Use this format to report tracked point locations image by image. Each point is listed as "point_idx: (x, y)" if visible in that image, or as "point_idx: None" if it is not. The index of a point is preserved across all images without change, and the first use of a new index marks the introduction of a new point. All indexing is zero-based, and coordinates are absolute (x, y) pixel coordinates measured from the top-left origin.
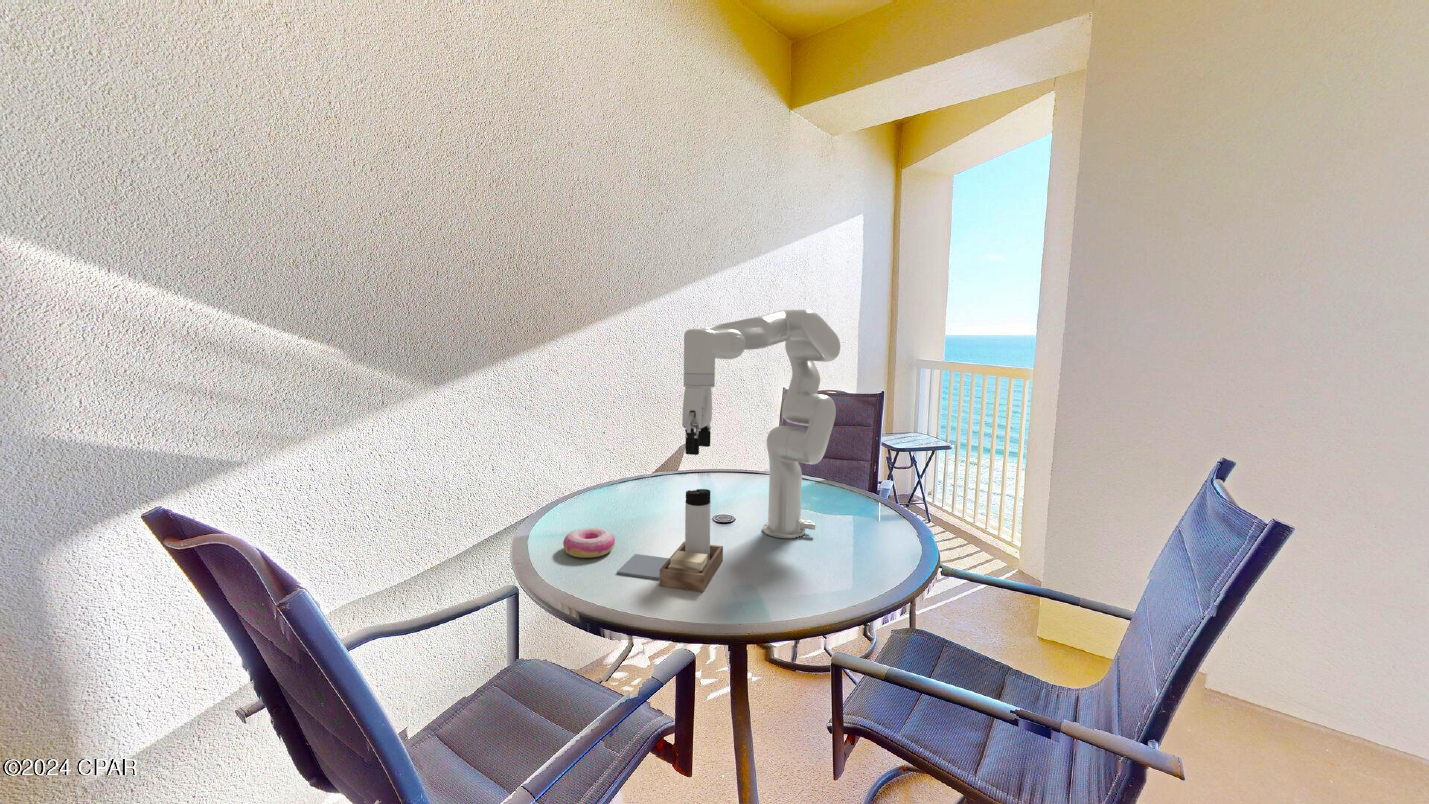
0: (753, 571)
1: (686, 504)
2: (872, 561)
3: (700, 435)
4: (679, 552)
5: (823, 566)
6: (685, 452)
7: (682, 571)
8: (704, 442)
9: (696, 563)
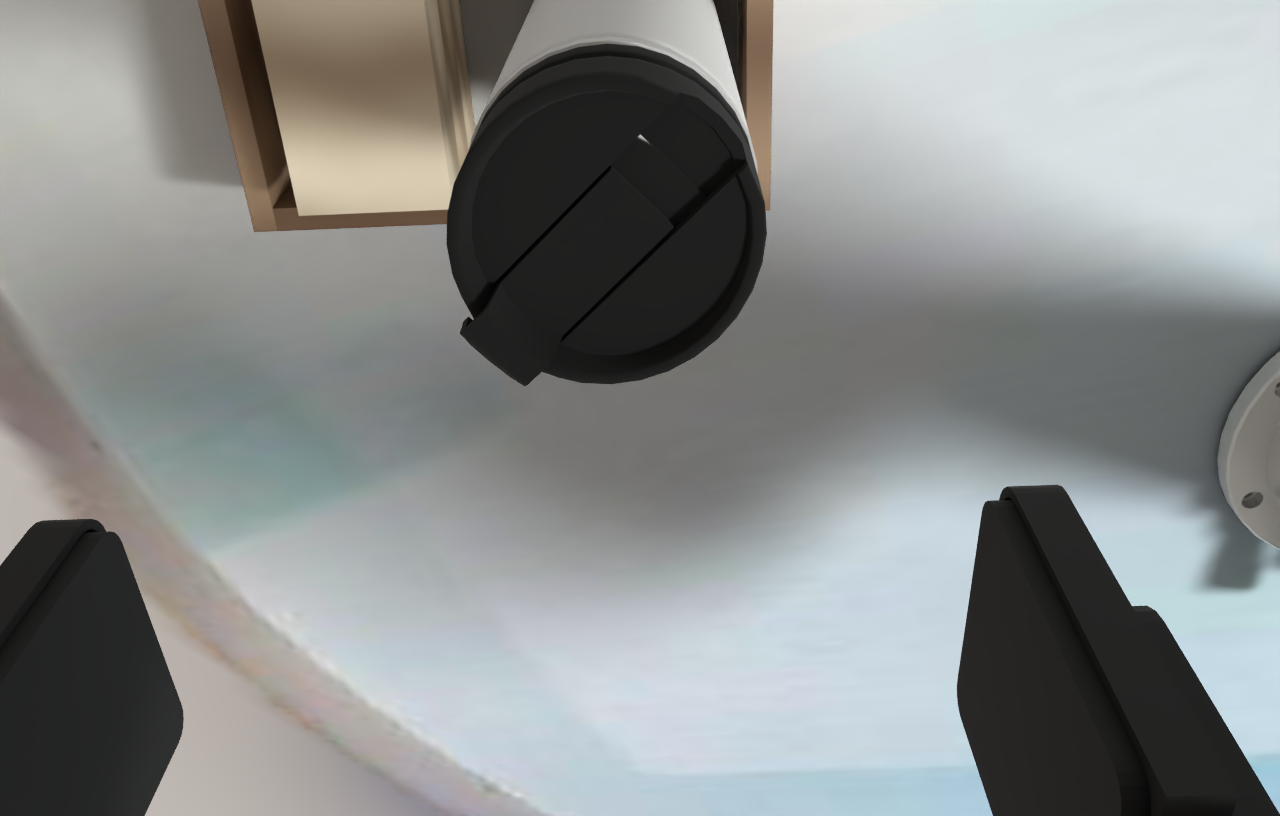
0: (668, 381)
1: (502, 83)
2: None
3: (1065, 741)
4: None
5: (844, 669)
6: (28, 530)
7: (233, 76)
8: (989, 684)
9: (294, 175)
